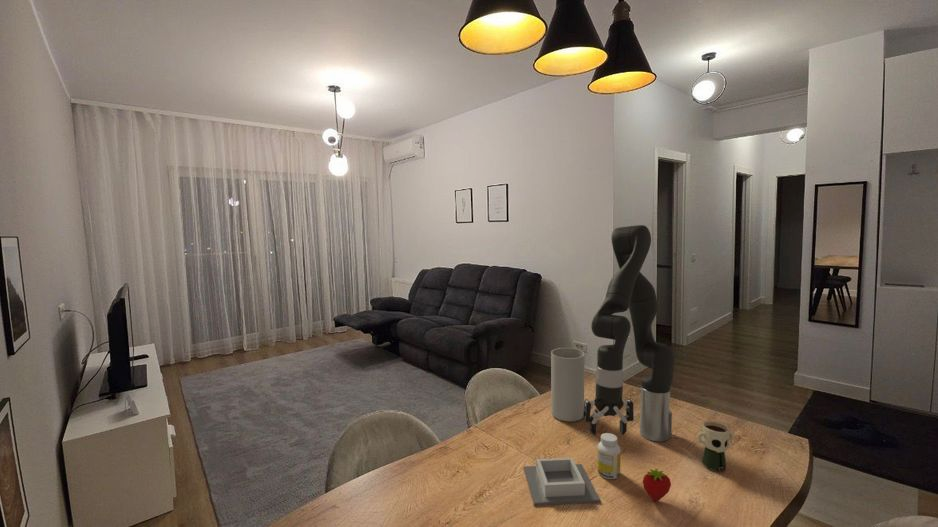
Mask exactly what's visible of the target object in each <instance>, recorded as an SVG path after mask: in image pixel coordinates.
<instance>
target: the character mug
mask: <svg viewBox="0 0 938 527" xmlns="http://www.w3.org/2000/svg"><path fill="white" fill-rule="evenodd" d="M733 433H734V432H733V431H731V430H730V428H729V427H728V426H727V425H725V424H724V423H722V422H719V421H714V420H706V421H703V422H702V424H701V432H698V433H697V443H698V444H702V445H703V446H704V451H703V454H702V460H701V463H702V464H703V465H704V466H705V467H706V468H707V469H709V470H711V471H715V472H720V469H721V470H722V472H724V471H725V470H726V469H727V468H726V467H727V466H726V464H727V462H726V453H725V452H727V451H728V450H729V447H730V442H733V436H734V434H733Z"/></svg>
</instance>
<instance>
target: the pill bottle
mask: <svg viewBox="0 0 938 527" xmlns="http://www.w3.org/2000/svg"><path fill="white" fill-rule="evenodd" d="M597 473H598V474H599V475H600V477H602V478H604V479H607V480H616V479H618V478H619V477H620V475H621V447H620V445H619V444H618V436H617V435H616V434H613V433H610V432H605V433H604V432H603V433H602V434H601V435H600V442H598V444H597Z"/></svg>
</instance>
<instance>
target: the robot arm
mask: <svg viewBox="0 0 938 527" xmlns="http://www.w3.org/2000/svg"><path fill="white" fill-rule="evenodd" d="M651 244H652V235H651V232H650V230H649V228H648V226H646V225H643V224H642V225H641V224H640V225H639V224H638V225H637V224H636V225H630V226H621V227H617V228H616V227H615V228H614V229H613V230H612V233H611V246H612V249H613V253H614V256H615V259H616V263H617V265H618V271H617V272H616V273H615V274H614V275H613V276H612V278H611V279H610V281H609V284H608V286H607V290H606V294H605V299H604V301H603V302H602V304H601V305H600V307H599V309H598V310H597V312H596V313H595V314H594V316H593V318H592V321H591V331H592V333H593V335H594V336H595V337H597V338H603V339H609V340H613V341H614V344H603V345H600V346H599V347H598V349H597V356H596V357H597V360H596V361H597V362H596V363H597V364H596V370H595V397H594V398H595V399H594V400H589V399H587V398H586V399H585V398H584V412H583V418H582V419H584V420H585V422H586V423H589V432H590V434H592V436H596V435H597V422H598V421H599V420H601V418H602V417H608V416H610V417H615V416H616V415H617V417H618V418H619V419H620V420H619V433H620V435H621V436H625V434H626V433H627V430H628V427H627V426H628V422H634V420H635V419H634V418H635V417H634V416H635V415H634V412H635V411H634V402H633V401H632V400H631V399H630V398H626V399H625V400H624V399H623V392H624V389H623V388H624V372H623V366H624V365H623V364H624V363H623V362H624V361H623V360H624V351H625V347H626V345H627V344H626V343H627V340H628V339H629V335H630V333H631V324H632V330H633V335H634V336H633V337H634V346H635V353H636V354H635V355H636V357H637V360H638V362H639V364H641V365H643V366H644V367H647V368H649V369H651V370H652V372H651V375H645V376H642V378H641V381H640V414H639V415H640V417H639V418H640V420H639V433H640V436H642V437H643V438H645V440H650V441H652V442H661V443H662V442H666V441H667V440H670V439H672V432H673V429H672V427H673V413H672V412H673V411H671V410H670V405H671V386H672V383H673V380H674V371H675V359H676V358H675V352H674V350H673V349H672V347H670V346H668V345H665V344H664V343H661V342H658V341H656V340H655V338H654V336H653V331H652V327H653V323H654V320H655V318H656V316H657V313H658V310H659V309H658V308H659V303H658V299H657V295H656V290H655V288H654V285H653V284H652V282H650V281H649V279H648V278H647V277H646V276H645V275H643V273H642V272H641V270H642V267H643V265H644V263H645V261H646V258H647V256H648V254H649V252H650V251H649V250H650V249H651ZM628 310H629V315H630V319H629V318H627V317H626V316H624V315H616V314H620V313H624V312H626V311H628ZM630 320H631V322H630ZM594 406H595V408H594ZM623 407H625V415H624V414H623V413H622V412H621V409H622V408H623ZM593 408H594V409H593ZM592 409H593V411H592V414H591V410H592Z"/></svg>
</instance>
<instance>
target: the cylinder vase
mask: <svg viewBox="0 0 938 527" xmlns="http://www.w3.org/2000/svg"><path fill="white" fill-rule="evenodd" d="M550 362H551V363H550V365H551V366H550V367H551V368H550V375H551V376H550V379H551V380H550V381H551V382H550V383H551V384H550V387H551V388H550V391H551V392H550V393H551V394H550V399H551V400H550V402H551V403H550V404H551V406H550V407H551V408H550V409H551V410H550V412H551V415H552V416H553V417H554V418H555V419H557V420H559V421H563V422H569V423H572V422H578V421H581V420H582V419H584V418H583V412H584V401H585V367H586V366H585V352H584V351H582V350H580V349H578V348H574V347H558V348H555V349H552V350H551V351H550Z"/></svg>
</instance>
